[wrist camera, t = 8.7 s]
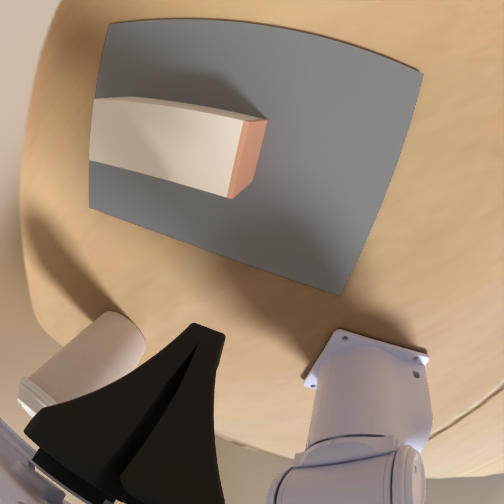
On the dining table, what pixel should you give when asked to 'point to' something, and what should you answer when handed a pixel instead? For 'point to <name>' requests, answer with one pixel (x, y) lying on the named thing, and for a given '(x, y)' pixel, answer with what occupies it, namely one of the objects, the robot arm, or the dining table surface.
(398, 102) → the mat
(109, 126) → the block
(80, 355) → the coffee cup
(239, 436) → the dining table surface
